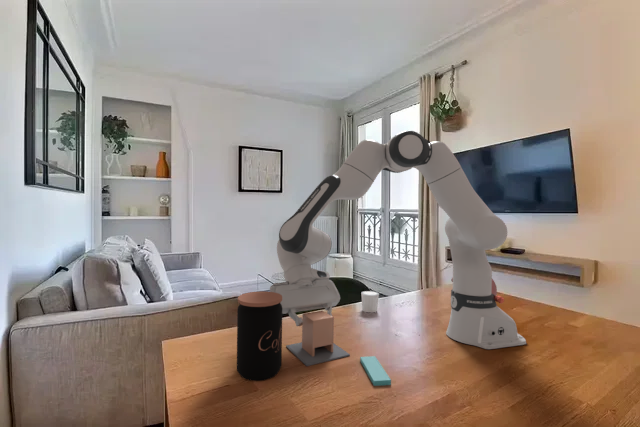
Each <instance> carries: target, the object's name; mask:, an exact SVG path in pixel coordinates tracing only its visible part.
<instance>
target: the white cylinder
mask: <svg viewBox="0 0 640 427" xmlns="http://www.w3.org/2000/svg"><path fill="white" fill-rule="evenodd" d="M360 294H361V308H362V309H361V310H362V312H363V313H366V312H375V313H377V312H378V307H379V306H378V305H379V297H380V293H379V292H377V291H373V290H364V291H361V293H360ZM376 311H377V312H376Z"/></svg>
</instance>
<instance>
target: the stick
mask: <svg viewBox="0 0 640 427" xmlns="http://www.w3.org/2000/svg"><path fill="white" fill-rule="evenodd" d="M359 359H360V360H359V361H360V363H361V365H362V367H363V369H364V371H365V373H366V375H367V377H368V378H369V379H370V382H371V384H372V385H373V386H375V387H376V386H377V387H378V386H379V387H380V386H381V387H382V386H392V379H391V377H390V376H389V374H388V373H387V372H386V370H385V368H384V367H383V366H382V364H381V363H380V361H379V360H378V358H377V356H376V355H371V356H360V358H359Z"/></svg>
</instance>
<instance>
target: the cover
mask: <svg viewBox="0 0 640 427" xmlns="http://www.w3.org/2000/svg"><path fill="white" fill-rule="evenodd" d="M301 317H302V321H303V324H302V326H301V328H302V331H301V332H302V333H301V342H302V348H303V349H304V350H305V351H307V352H308V353H309V354H310V355H311V356H312V357H313V356H314V355H315V348H316V347H321V346H324V347H325V348H326V349H328V350H329V351H330V352H333V343H334V338H335V337H334V335H335V334H334V333H335V332H334V329H335V328H334V326H335V324H334V323H335V318H334V316H333V315H332V316H331V315H329V314H327V312H326V311H324V310H320V311H319V310H318V311H310V312H305V313H302V316H301Z"/></svg>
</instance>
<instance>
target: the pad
mask: <svg viewBox="0 0 640 427" xmlns="http://www.w3.org/2000/svg"><path fill="white" fill-rule="evenodd" d="M285 346H286V347H285V348H286V349H288V350H289V351H290V352H291V353H292V354H293V355H294V356H295V357H296V358H297V359H298V360H299V361H300V362H301V363H302V364H304V366H306V367H309V366H313V365H317V364H322V363H325V362H330V361H334V360H339V359H343V358H346V357H350V355H351V354H350V353H348V351H346V350H344V348H342V347H340V346H338V345H337V344H336V343H334V342H333V352H330V351H329V350H328V349H326V348H325V347H324V346H321V347H316V348H315V355H314V356H313V357H312V356H311V355H310V354H309V353H308V352H307V351H305V350H304V349H303V348H302V341H301V342H295V343H293V344H292V343H291V344H287V345H285Z"/></svg>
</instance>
